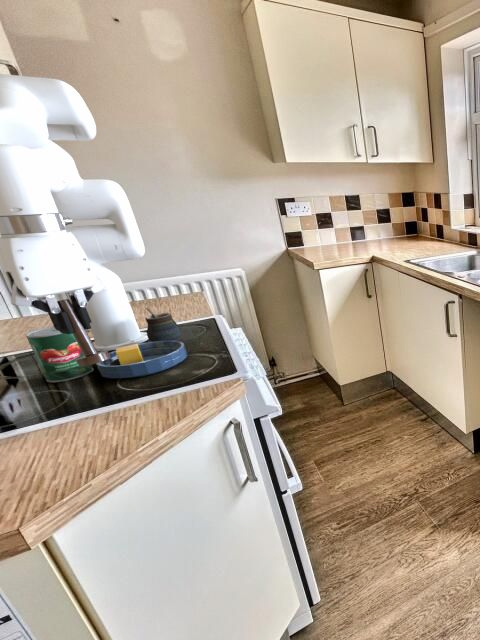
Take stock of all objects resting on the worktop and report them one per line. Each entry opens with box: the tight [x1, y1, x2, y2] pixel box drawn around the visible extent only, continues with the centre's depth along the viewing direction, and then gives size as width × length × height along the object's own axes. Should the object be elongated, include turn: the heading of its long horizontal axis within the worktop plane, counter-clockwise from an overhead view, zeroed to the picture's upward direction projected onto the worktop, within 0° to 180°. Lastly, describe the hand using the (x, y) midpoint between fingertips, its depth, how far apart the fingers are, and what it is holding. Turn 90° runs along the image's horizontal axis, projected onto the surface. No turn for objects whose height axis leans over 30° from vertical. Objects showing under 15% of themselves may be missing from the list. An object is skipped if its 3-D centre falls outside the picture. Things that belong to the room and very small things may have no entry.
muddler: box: [57, 298, 111, 367], centre depth 76 cm, size 4×4×12 cm
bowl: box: [95, 340, 188, 379], centre depth 101 cm, size 16×16×4 cm
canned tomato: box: [25, 325, 94, 383], centre depth 96 cm, size 8×8×11 cm
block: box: [115, 344, 143, 365], centre depth 101 cm, size 4×4×4 cm
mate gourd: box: [144, 307, 182, 342], centre depth 114 cm, size 7×8×10 cm
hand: (75, 330), depth 76 cm, fingers closed on muddler
